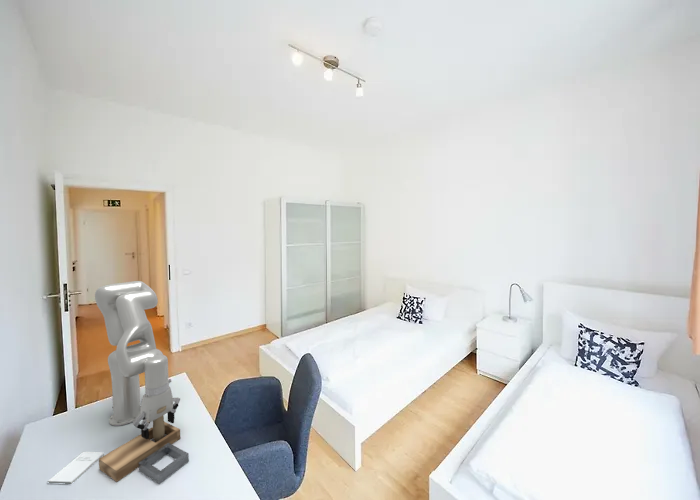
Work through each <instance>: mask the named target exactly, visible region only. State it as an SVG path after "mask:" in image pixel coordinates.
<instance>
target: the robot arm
mask: <svg viewBox="0 0 700 500" xmlns="http://www.w3.org/2000/svg"><path fill="white" fill-rule="evenodd" d="M94 301H95V304H96V306H97V308H98V310H99V311H100V312H101V314H102V316H103V319H104V325H105V329H106V334H107V338H108V339H107V340H108V342H109V344H110V345H111V346H115V347H116V350H114V351H112V352H111V353H109V355H108V356H107V364H108V368H109V372H110V377H111V391H112V392H111V393H112V411H113V412H112V414H111V416H110V417H109V419H108V424H109V425H111V426H118V427H121V426H124V425H129V424H131V423H132V425H133V426H134V427H135V428H137V429H139V430H140V434H141V436H142V437H143V438H145V439H148V438H149V429H150V428H148V427H149V426H150V424H151V423H153V421H154V420H156V419H157V418H159V417H161V416H164V415H165V414H167V423H169V424H174V423H175V413H176V410H177V408H178V407H179V404H180V401H181V397H174V396H173V392H172V389H171V387H170V383H172V379H171V378H170V379H169V360H168V356H167V355H164V354H163V351H161V349H159V348H157V345H156V341H155V340H156V338H155V335H154V332H153V331H154V330H153V326H152V324H151V322H150V320H148V317H147V314H146V311H145V310H150V309H153V308H155V307H157V305H158V303H159V301H158V296H157V293H156V292H155V291H154V290H153V289H152V288H151V287H150V285H148V284H146V283H145V282H144V281H141V280H135V281H125V282H117V283H110V284H106V285H102V286H99V287H98V288H97V289H96V290H95V293H94ZM136 341H139V342H137V343H135V344H130V345H128V344H129V343H133V342H136ZM143 373H144V385H145V387H144V389H145V390H144V391H145V393H144V394H143V395H142V399H141V387H140V375H141V374H143ZM165 406H166V410H165V411H163V412H162V413H159V414H157V410H159V409H161V408H163V407H165ZM140 422H141V423H140Z"/></svg>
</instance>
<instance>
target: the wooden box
mask: <svg viewBox="0 0 700 500" xmlns="http://www.w3.org/2000/svg"><path fill="white" fill-rule="evenodd" d="M164 425H165V434H164V438H162V439H161V440H159V441H158V442H156V443H155V442H154V438H153V426H152V427H150V428H148V429H149V438H148V439H145V438H143V437H142V436H141V433H140V434H139V435H137V436H135V437H133V438H132V439H130V440H128V441H127V442H125V443H123V444H122V445H120V446H118V447H117V448H115V449H113V450H112V451H109V452H108V453H106V454H104V455H103V456H102V457H101V458H99V460H98V467H99V469H98V470H100V472H102V473H104V474H105V475H106V476H108V477H109V478H111V479H112V480H114V481H115V482H116V483H118V482H119V481H121V480H122V479H123V478H125V477H127V476H128V475H130V474H131V473H132V472H134V471H136V469H139V464H138V463H139V462H141V461H142V460H144V459H145V458H147V457H148V456H150V455H151V454H153V453H154V452H155V451H157V450H158V449H160V448H161V447H163V446H164V445H166V444H167V443H170V444H172V445H174V444H175V443H176V442H178V441H179V440H180V439H181V429H180V428H178V427H177V426H174V425H173V424H171V423H169V422H166V421H164Z"/></svg>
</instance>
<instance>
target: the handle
mask: <svg viewBox="0 0 700 500" xmlns="http://www.w3.org/2000/svg"><path fill="white" fill-rule="evenodd" d="M165 410H166V406H165V407H163V408H161V409H159V410H157V414H159V413H162V412H163V411H165ZM164 422H165V417H164V415H163V416H161V417H159V418H157V419H156V420H154V421H152V427H153V442H155V443H156V442H158V441H159V440H161V439H162V438H164V437H165V435H166V434H165V425H164Z"/></svg>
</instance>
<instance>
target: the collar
mask: <svg viewBox="0 0 700 500" xmlns="http://www.w3.org/2000/svg"><path fill="white" fill-rule="evenodd" d="M167 455H168V456H169V457H172V458H173V459H174V460H173V461H172V462H170V463H169V464H168V465H166V466H165V467H163V468H162V469H159V468H157V467H155V466H154V464H156V463H158V462H159V461H160V460H162V458H164V457H166V456H167ZM189 456H190V455H189V452H186V451H185V450H183V449H181V448H180V447H178V446H175V445H174V444H170V443H167V444H166V445H164V446H163V447H161V448H160V449H158V450H157V451H155V452H154V453H153V454H151V455H150V456H148V457H147V458H145V459H144V460H142V461H141V462H139V463H138V464H139V467H138V472H140V473H141V474H143V475H144V476H146V477H147V478H149V479H150V480H152V481H154V482H155V483H156V484H158V485H160V484H161V483H163V482H164V481H165V480H166V479H168V478H169V477H171V476H172V474H174V473H175V472H176V471H178V470H179V469H181V468H182V467H183V466H184V465H186V464H187V463H188V462H189V461H190V460H189V458H190V457H189Z"/></svg>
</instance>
